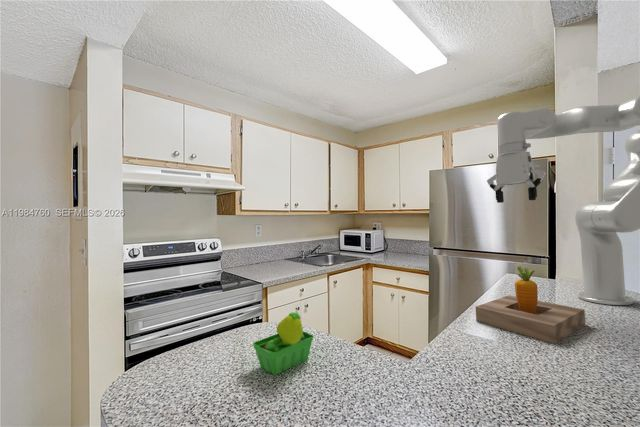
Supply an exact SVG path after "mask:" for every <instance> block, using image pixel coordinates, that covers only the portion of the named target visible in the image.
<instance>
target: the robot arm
mask: <svg viewBox="0 0 640 427" xmlns="http://www.w3.org/2000/svg"><path fill="white" fill-rule="evenodd" d="M639 126H640V95H637V96H636V97H634V98H633V97H632V98H631V99H628V100H627V101H624V102H621V103H617V104H614V103H613V104H602V105H583V106H579V107H574V108H571V109H569V110H567V111H564V112H560V113H558V114H556V112H555V111H554V110H553V109H551V108H549V107H537V108H532V109H527V110H524V111H523V110H522V111H516V110H515V111H509V112H506V113H504V114H501V115H500V116H499V117H498V118H497V139H498V154H499V155H498V156H497V158H496V163H495V174H494V175H493V176H490V178H488V179H486V182H487V185H488V186H489V187H490V188H491V189H492V190H493V191H494V192H495V200H496V203H498V204H500V203H501V204H502V203H504V202H505V200H504V191H503V188H504V187H505V186H512V185H521V184H527V186H529V187H528V188H527V192H528V200H529V201H536V199H537V197H538V191H537V190H538V189H537V188H538V187H539V185H541V183H542V182H543V180H544V178H545V176H546V175H547V172H545V171H543V170H539V169H535V167H534V163H533V162H534V161H533V159H532V155H531V152H530V151H528V148H531V145H532V144H531V143H530V142H528V143H527V141H526V140H537V139H538V140H540V139H549V138H556V137H564V136H572V135H579V134H589V133H590V134H591V133H615V132H621V131H626V130H630V129H632V128H636V127H639ZM624 148H625V151H626V154H627V157H628V162H627V165H626V166H625V167H624V168H623V170H622V171H620V172H619V173H618V175H617V176H616V177H614V178H613V179H612V181H610V182H609V184H608V185H606V187H605V188H604V190H603V192H602V198H603V201H595V202H589V203H586V204H583V205H582V206H580V207H579V208H578V209H577V211H576V212H575V214H574V215H575V216H574V218H575V224H576V228H577V231H578V234H579V239H580V250H581V251H580V253H581V264H582V265H581V266H582V267H581V268H582V280H583V283H582V284H583V291H580V292H578V294H577V298H579V299H581V300H583V301H587V302H590V303H596V304H601V305H609V306H630V305H633V304H634V299H633V297H632V298H631V297H630V296H627V295H626V285H625V284H626V282H625V268H624V255H623V254H624V253H623V245H622V241H621V239H620V236H619V235H618V234H617V233H620V234H621V233H622V234H623V233H632V232H636V231H638V230H640V129H639V130H636V131H634V132H633V133H632V134H630V135H629V136H628V137H627V139H625V145H624ZM535 175H537V178H535V177H536V176H535ZM494 181H496V184H495V182H494Z"/></svg>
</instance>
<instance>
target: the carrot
mask: <svg viewBox="0 0 640 427" xmlns="http://www.w3.org/2000/svg"><path fill="white" fill-rule="evenodd" d="M516 269H517V270H518V271H519V273H518V272H517V274H516V276H518V277H519V278H520V279H518V280H516V281H515V282H514V290H515V296H516V299H517V303H518V306H519V310H520V311H522V312H527V313H531V314H535V313H536V308H537V302H538V301H539V300H538V296H539V295H538V285H537V283H536V282H535V281H533V280H532V279H531V277H532V275H533V274H534V272H535V270H534V269H532V268H531V270H529V269H528V268H527V267H526V268H524V269H523V268H522V267H521V266H520V265H519V266H517V267H516Z"/></svg>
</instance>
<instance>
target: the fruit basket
mask: <svg viewBox="0 0 640 427" xmlns="http://www.w3.org/2000/svg"><path fill="white" fill-rule="evenodd" d="M313 340H314V335H313V334H310V333H308V332H307V331H304V329H303V324H302V320H301V315H300V313H297V312H294V311H292V312H290V313H288V315H287V316H285V317H284V318H283V319H282V320H281V321H280V322H279V323H278V324H277V325H276V333H275V334H273V335H270V336H268V337H265V338H262V339H259V340H256V341H253V343H252V345H253V349H254V350H255V352H256V356H257V358H258V363H259V366H260V368H262V369H264V370H265V371H266V372H268V373H271V374H272V375H273V376H276V375H278V374H280V373H282V372H283V371H287V370H288V369H290V368H292V367H294V366H297V365H300V363H302V362H305V361H307V360H308V359H309V355H310V351H311V346H312V342H313Z"/></svg>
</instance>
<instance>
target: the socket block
mask: <svg viewBox="0 0 640 427" xmlns="http://www.w3.org/2000/svg"><path fill="white" fill-rule="evenodd" d="M474 308H475V321H476V322H479V323H482V324H484V325H489V326H491V327H492V326H493V327H495V328H500V329H502V330H506V331H510V332H514V333H515V334H517V333H518V334H521V335H522V336H523V335H524V336H527V337H531V338H534V339H537V340H542V341H545V342H549V343H551V344H557V343H559V342H560V341H562V340H565V338H567V337H569V336H570V335H572V334H573V333H575V332H577V331H578V330H580V329H581V328H584V327H585V326H586V310H585V309H583V308H578V307H575V306H574V307H573V306H569V305H568V306H567V305H563V304H558V303H552V302H548V301H547V302H546V301H542V300H538V302H537V308H536V313H535V314H531V313H527V312H522V311H520V310H519V306H518V303H517V299H516V295H515V296H514V295H510V294H508V295H505V296H503V297H500V298H497V299H494V300H491V301H488V302H485V303H482V304H479V305H477V306H476V305H475V307H474Z"/></svg>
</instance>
